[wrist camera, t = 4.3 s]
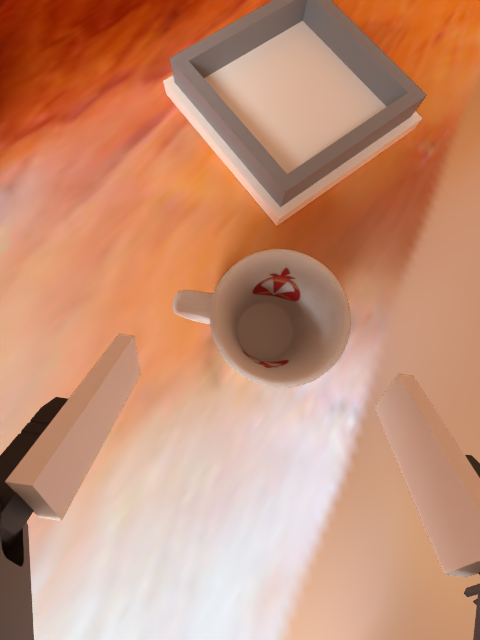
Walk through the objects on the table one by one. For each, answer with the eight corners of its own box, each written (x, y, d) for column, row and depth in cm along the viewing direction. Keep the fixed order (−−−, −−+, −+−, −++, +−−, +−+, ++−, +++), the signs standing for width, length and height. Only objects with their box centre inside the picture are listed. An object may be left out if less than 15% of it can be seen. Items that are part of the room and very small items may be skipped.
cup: (175, 361, 21) (142, 361, 13) (197, 273, 22) (178, 224, 15) (301, 387, 21) (343, 402, 13) (315, 297, 22) (360, 261, 14)
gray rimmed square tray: (166, 94, 25) (157, 56, 22) (301, 15, 28) (310, -30, 25) (276, 226, 23) (283, 204, 20) (413, 129, 26) (439, 97, 22)
